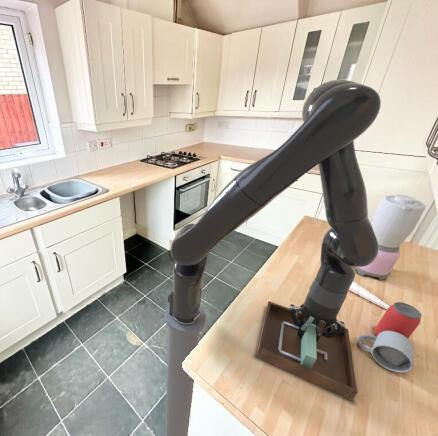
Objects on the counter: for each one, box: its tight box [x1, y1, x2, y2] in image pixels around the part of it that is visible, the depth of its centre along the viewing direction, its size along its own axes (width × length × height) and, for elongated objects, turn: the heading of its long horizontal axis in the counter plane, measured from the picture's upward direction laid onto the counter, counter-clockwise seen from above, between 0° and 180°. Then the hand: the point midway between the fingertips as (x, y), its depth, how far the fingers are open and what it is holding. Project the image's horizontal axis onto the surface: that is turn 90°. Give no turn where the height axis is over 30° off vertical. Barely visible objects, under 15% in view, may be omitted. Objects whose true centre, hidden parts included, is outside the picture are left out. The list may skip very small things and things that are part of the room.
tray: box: [256, 300, 358, 402], centre depth 70 cm, size 22×20×4 cm
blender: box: [353, 194, 427, 281], centre depth 92 cm, size 16×12×32 cm
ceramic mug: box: [356, 331, 415, 373], centre depth 66 cm, size 11×8×8 cm
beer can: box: [374, 301, 423, 339], centre depth 69 cm, size 7×7×12 cm
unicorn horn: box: [348, 280, 391, 310], centre depth 86 cm, size 5×24×5 cm, turn 27°
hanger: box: [278, 321, 328, 369], centre depth 69 cm, size 12×14×5 cm
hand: (306, 338), depth 72 cm, fingers closed on hanger, 2 cm apart
